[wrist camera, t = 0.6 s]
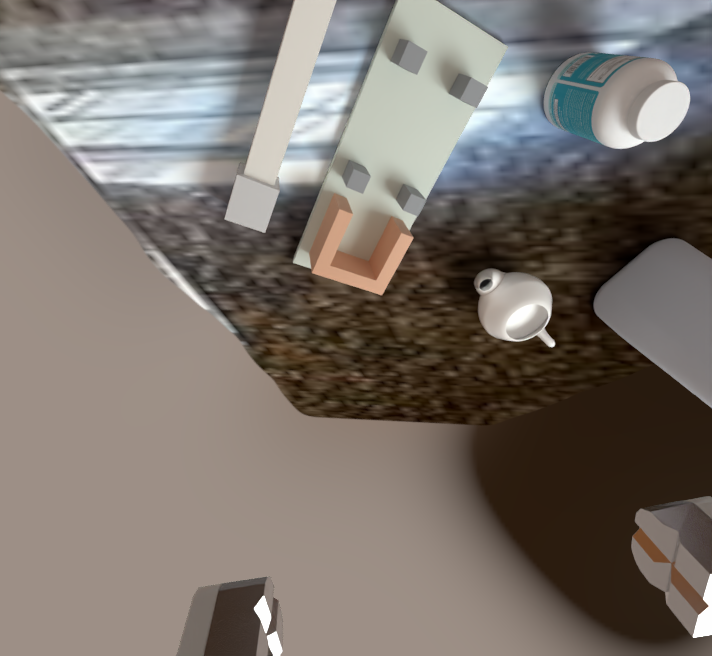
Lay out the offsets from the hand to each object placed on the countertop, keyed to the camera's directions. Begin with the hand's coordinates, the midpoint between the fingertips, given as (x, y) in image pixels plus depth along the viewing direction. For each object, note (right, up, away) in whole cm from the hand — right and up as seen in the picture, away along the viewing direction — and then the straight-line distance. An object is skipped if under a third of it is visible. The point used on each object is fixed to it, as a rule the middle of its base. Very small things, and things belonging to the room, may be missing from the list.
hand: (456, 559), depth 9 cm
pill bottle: (+22, +31, +37) cm, 53 cm away
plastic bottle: (+43, +12, +56) cm, 72 cm away
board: (+1, +24, +39) cm, 45 cm away
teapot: (+18, +11, +52) cm, 56 cm away
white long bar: (-10, +28, +33) cm, 45 cm away
